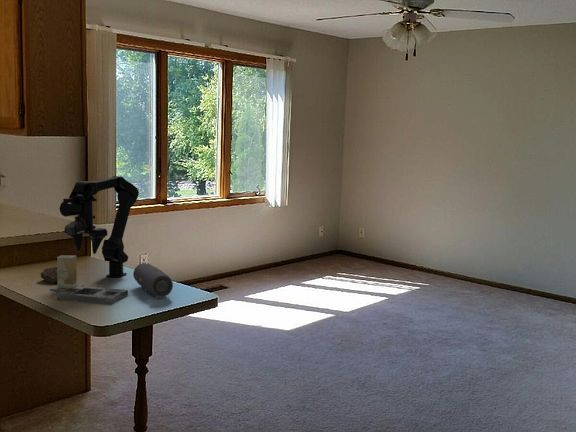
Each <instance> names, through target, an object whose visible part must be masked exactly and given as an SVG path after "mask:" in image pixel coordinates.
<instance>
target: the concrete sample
mask: <svg viewBox="0 0 576 432" xmlns="http://www.w3.org/2000/svg"><path fill="white" fill-rule="evenodd" d="M40 278H41V279H42V280H44V281H43V282H46V283H51V284H54V283H55V284H56V283H57V266H54V267H49V268H44V269H43V270H42V271H41V273H40Z"/></svg>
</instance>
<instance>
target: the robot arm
mask: <svg viewBox="0 0 576 432" xmlns="http://www.w3.org/2000/svg"><path fill="white" fill-rule="evenodd" d="M112 188H113V190H114V191H115V192H116V193H117V197H116V199H117V201H118V207H117V210H116V214H115V218H114V222H113V226H112V229H111V233H110V236H109V238H108V239H106V237H107V236H108V230H107V229H106V228H103V227H99V228H98V227H97V228H96V226H95V225H94V220H95V219H96V215H94V212H93V211H94V210H93V209H94V207H93V204H94V203H93V202H97V198H95V197H94V196H96V195H97V194H98V193H99V192H101V191H105V190H107V189H108V190H109V189H112ZM139 195H140V191H139V189H138V187H137V186H135V185H134V184H133V183H131V182H129V181H128V180H126V179H125V178H124V177H123V176H118V175H116V176H115V175H112V176H111V177H107V178H102V179H99V180H94V181H86V180H85V181H77V182H75V184H74V187H73V188H72V190H71V193H70V195H69V196H68V198H63V199H62V202H61V203H60V206H59V212H60V215H62V216H63V217H72V216H75V217H74V220H73V221H71V222H69V223H68V224H66V225H65V226H64V234H66V235H67V236H68V237H70V239H72V241H73V243H74V246H75V249H76V251H77V252H80V251H81V247H82V242H83V235H84V234H88V235H89V237H88V238H89V240H90V241H91V248H92V250H91V251H92V253H93V255H94V254H95V255H96V254H97V252H98V249H99V247H100V245H101V244H102V241H103V244H102V247H101V254H102V257H103V258H104V261H105V262H108V274H106V275H105V276H106V277H109V278H122V277H124V276H126V275H127V274H128V273H127V272H124V263H126V262H128V260H129V256H128V254H127V253H125V251H124V250H125V245H124V241H123V239H124V238H123V237H124V235H125V234H124V233H125V231H126V227H127V221H128V219H129V215H130V211H131V209H132V207H133V206H134V204H136V202H137V200H138V197H139ZM104 238H105V239H104ZM103 239H104V240H103Z"/></svg>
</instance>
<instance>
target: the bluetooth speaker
mask: <svg viewBox="0 0 576 432" xmlns="http://www.w3.org/2000/svg"><path fill="white" fill-rule="evenodd" d="M132 274H133V275H132V276H133V279H134V281H136V283H137V284H138V285H139V286H140V287H142V288H143V289H144V291H145V292H147V294H149V295H150V296H151V297H158V298H163V297H167V296H169V295H170V294H171V292H172V290H173V288H174V282H173V280H172V279H171V277H170V276H169V275H167V273H166V272H164V271H162V269H159V268H158V267H157V266H154V265H152V264H150V263H145V262H142V263H139V264H138V265H136V267H134V270H133V273H132Z"/></svg>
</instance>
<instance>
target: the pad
mask: <svg viewBox="0 0 576 432" xmlns="http://www.w3.org/2000/svg"><path fill="white" fill-rule="evenodd" d="M77 286H85V285H84V284H78V283H77ZM67 289H69V288H58V285H56V286H54V287H50V288H49V291H52V292H62V291H65V290H67Z"/></svg>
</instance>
